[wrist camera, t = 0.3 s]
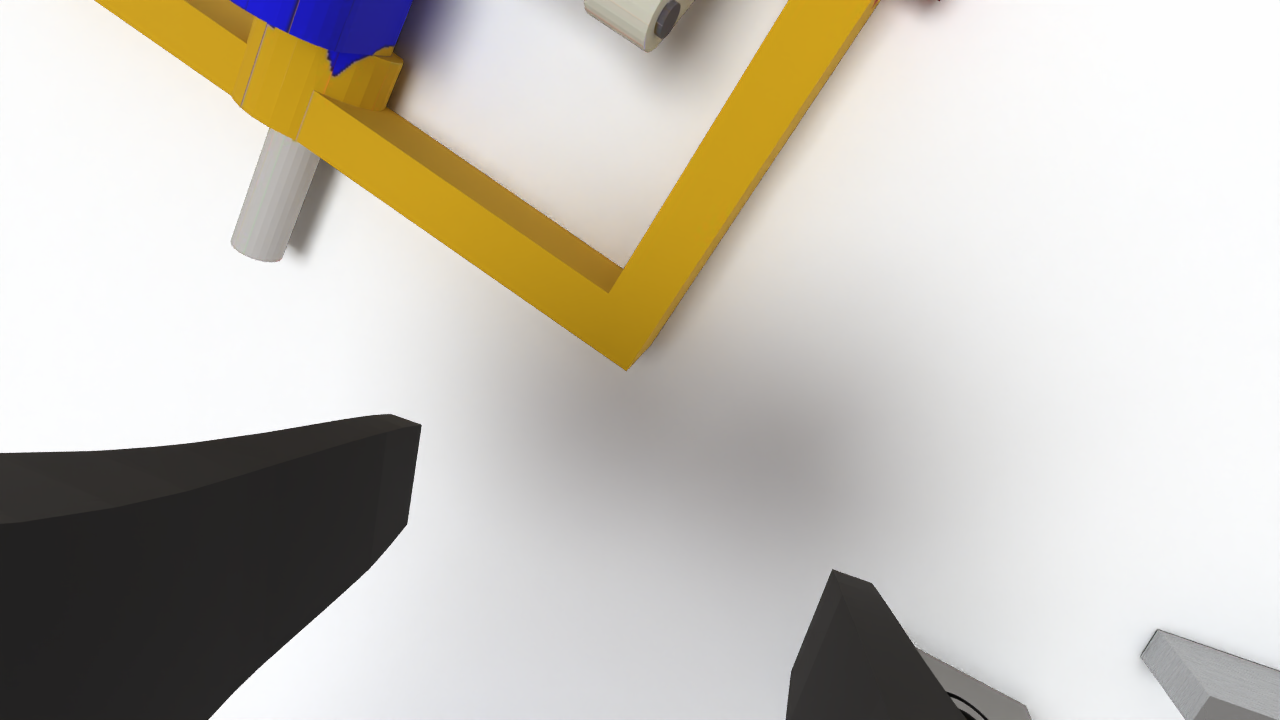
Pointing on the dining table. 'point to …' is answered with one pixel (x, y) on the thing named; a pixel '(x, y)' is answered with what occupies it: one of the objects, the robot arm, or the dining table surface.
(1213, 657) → the bar
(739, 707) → the dining table surface
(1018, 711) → the dice cube
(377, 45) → the multicolour toy assembly
